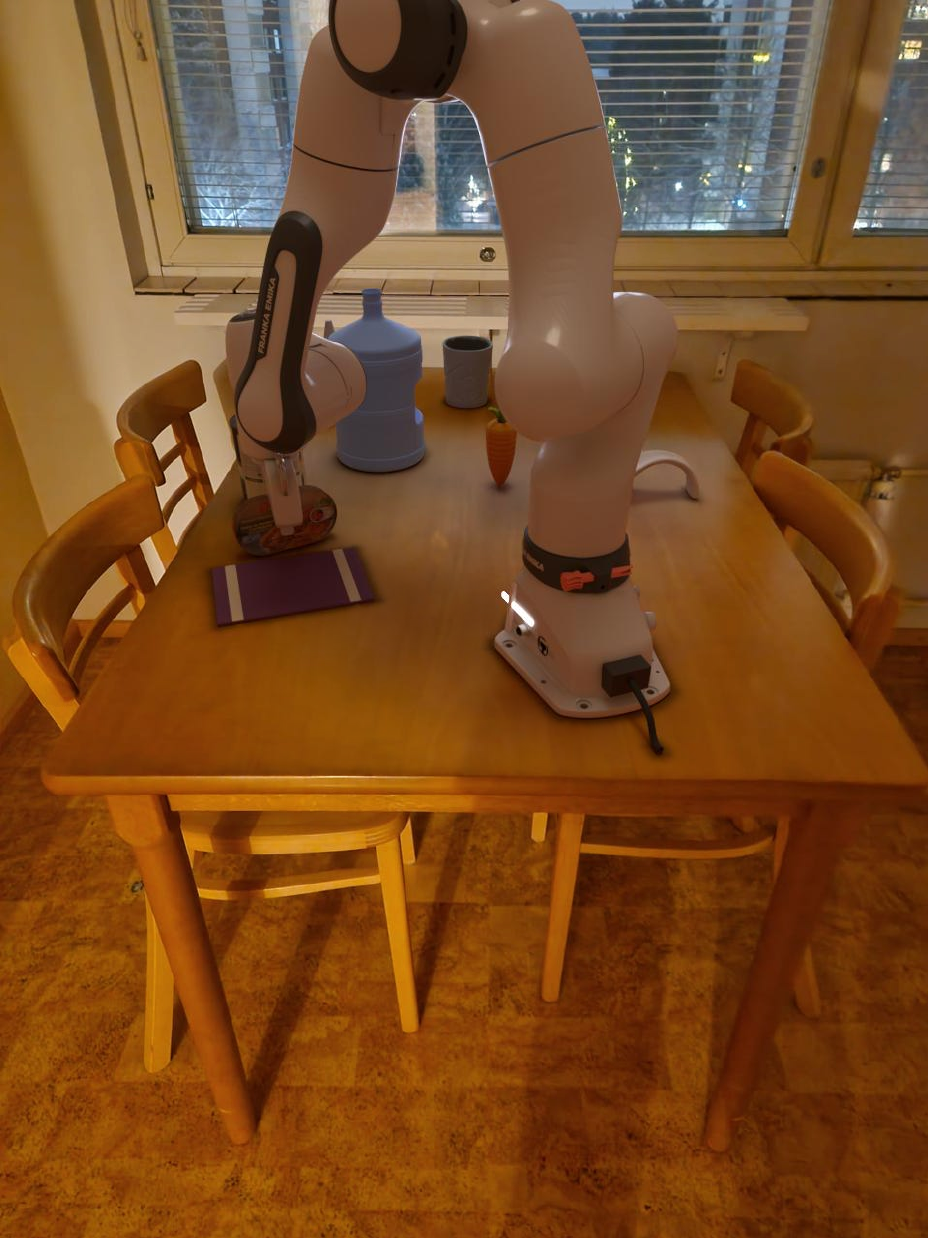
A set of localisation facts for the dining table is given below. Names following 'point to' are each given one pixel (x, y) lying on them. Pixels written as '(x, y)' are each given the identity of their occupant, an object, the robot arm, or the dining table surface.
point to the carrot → (500, 447)
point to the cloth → (289, 586)
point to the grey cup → (467, 370)
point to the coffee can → (257, 468)
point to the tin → (265, 537)
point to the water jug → (382, 393)
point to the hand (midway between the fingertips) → (285, 525)
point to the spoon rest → (671, 458)
